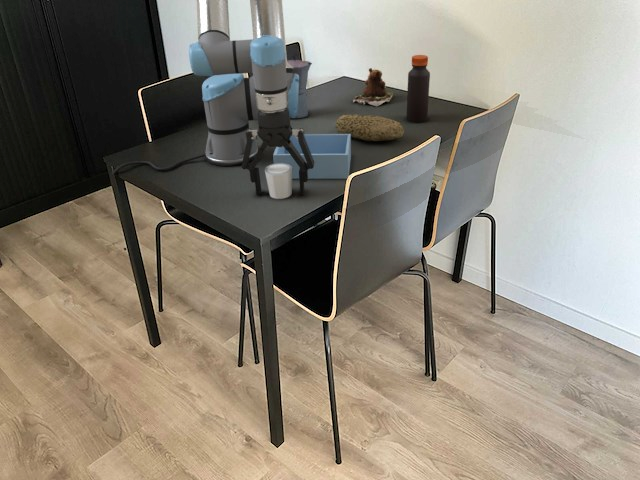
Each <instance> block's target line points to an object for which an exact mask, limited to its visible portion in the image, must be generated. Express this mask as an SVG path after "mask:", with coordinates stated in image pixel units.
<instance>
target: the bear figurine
mask: <svg viewBox="0 0 640 480" xmlns="http://www.w3.org/2000/svg"><path fill="white" fill-rule="evenodd" d="M368 72H369V74H368V75H367V79H366V80H365V81H364V83H365V85H366V87H364V88H363V91H362V93H360V95H359V94H358V95H356V96H354V97H353V99H352V103H355V102H357V103H358V104H360V105H364V106H365V104H369V105H371V106H375V107H379V106H380V105H382V104H383V103H385V102H387V103H389V102H390V101H391V100H392V98H393V96H394V93H393V92H389V90H386V89H387V85H386V82H385V81H384V80H383V78H382V77H383V72H382V71H381V70H380V69H373V68H372V67H370V68H368Z"/></svg>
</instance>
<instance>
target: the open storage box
mask: <svg viewBox="0 0 640 480" xmlns="http://www.w3.org/2000/svg"><path fill="white" fill-rule="evenodd" d="M304 137H305V140H306V142H307V145H308V147H309V150H310V152H311V155H312V157H313V160H314V162H315V163H314V167H313V169H308V180H309V179H311V180H313V179H315V180H316V179H317V180H318V179H319V180H322V179H324V180H325V179H326V180H329V179H330V180H331V179H333V180H334V179H335V180H336V179H338V180H339V179H340V180H342V179H345V180H346V179H347V177H348V176H349V177H350V171H351V170H350V169H351V159H352V137H351V134H340V133H304ZM290 140H291V141H292V144H293V145H294V147H295V148H296V149H297V151H298V152H299V154H300V155H301V156H302V158H303V159H304V160H305V162H306V159H305V157H304V154H303V152H302V149H301V147H300V145H299V142H298V139H296V138H295V136H294V135H292V136H291V137H290ZM272 157H273V164H277V163H285V164H289V165H290V166H291V167H292V180H293V179H295V180H299V169H300V167H299V166H298V164H297V163H296V162H295V160H294V159H293V158H292V156H291V155H290V153H289V152H288V151H287V150H286V149H285V148H284V147H283V146H282V147H275V149H274V152H273V154H272ZM306 163H307V162H306ZM347 180H348V179H347Z"/></svg>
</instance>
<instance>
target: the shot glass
mask: <svg viewBox="0 0 640 480" xmlns="http://www.w3.org/2000/svg"><path fill="white" fill-rule="evenodd" d="M264 173H265V178H266V184H267V190H268V194H269V197H270V198H272V199H275V200H283V199H286V198H289V197H290V196H292V193H293V179H292V167H291V166H290V165H289V164H285V163H277V164H274V163H272V164H269V165H267V166H266V167H265V168H264Z"/></svg>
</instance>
